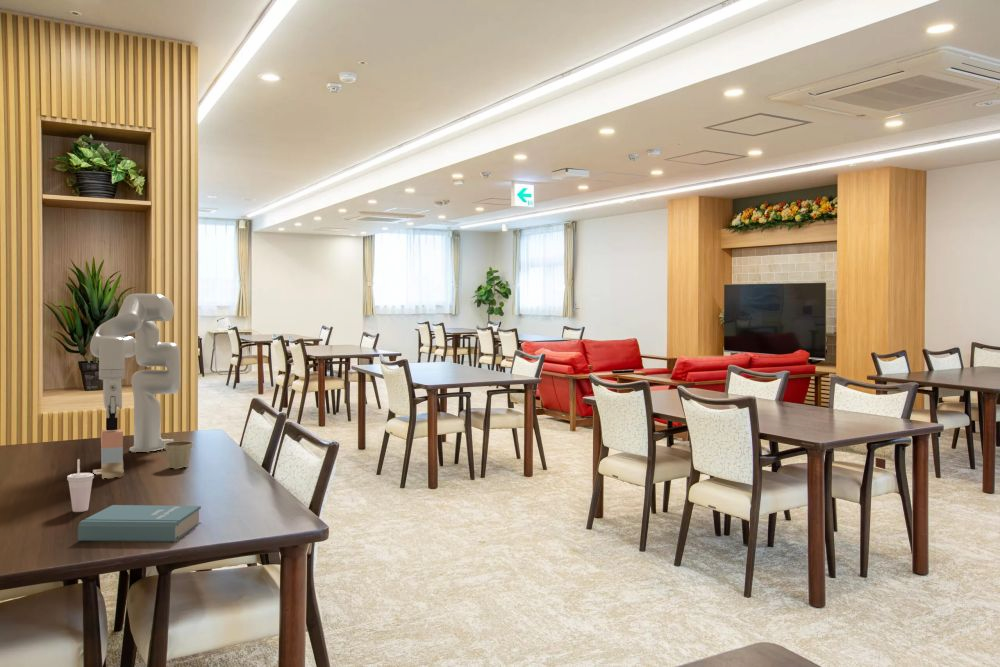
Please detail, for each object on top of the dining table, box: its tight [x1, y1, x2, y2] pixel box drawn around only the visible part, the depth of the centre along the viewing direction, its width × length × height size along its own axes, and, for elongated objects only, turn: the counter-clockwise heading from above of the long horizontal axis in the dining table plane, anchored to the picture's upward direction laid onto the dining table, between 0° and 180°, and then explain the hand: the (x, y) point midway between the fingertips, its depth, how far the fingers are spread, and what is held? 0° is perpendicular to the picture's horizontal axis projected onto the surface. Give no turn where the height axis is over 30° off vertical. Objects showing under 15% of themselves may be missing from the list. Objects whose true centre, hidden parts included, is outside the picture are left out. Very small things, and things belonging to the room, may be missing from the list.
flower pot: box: [164, 440, 194, 469], centre depth 257 cm, size 9×9×9 cm
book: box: [77, 504, 202, 543], centre depth 182 cm, size 23×16×5 cm
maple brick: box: [100, 461, 124, 480], centre depth 242 cm, size 6×6×5 cm
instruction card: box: [92, 468, 125, 475], centre depth 249 cm, size 9×7×1 cm
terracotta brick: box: [100, 428, 124, 448], centre depth 242 cm, size 6×6×5 cm
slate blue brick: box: [100, 446, 124, 464], centre depth 242 cm, size 6×6×5 cm
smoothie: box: [66, 458, 95, 513], centre depth 200 cm, size 6×6×14 cm
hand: (111, 429), depth 242 cm, fingers closed
